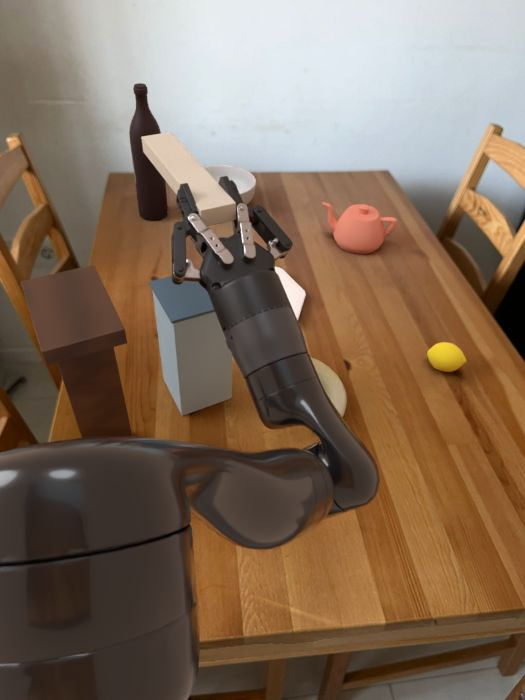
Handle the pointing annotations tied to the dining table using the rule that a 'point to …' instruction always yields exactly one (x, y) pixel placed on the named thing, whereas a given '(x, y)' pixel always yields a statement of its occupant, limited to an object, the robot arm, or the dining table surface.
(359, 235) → the teapot
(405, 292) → the dining table surface
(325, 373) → the fruit
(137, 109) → the wine bottle
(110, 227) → the dining table surface
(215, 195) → the slat
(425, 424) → the dining table surface
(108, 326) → the stand
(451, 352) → the lemon
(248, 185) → the cereal bowl
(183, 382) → the container
